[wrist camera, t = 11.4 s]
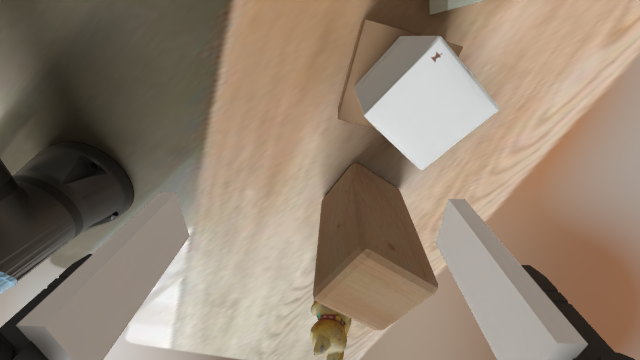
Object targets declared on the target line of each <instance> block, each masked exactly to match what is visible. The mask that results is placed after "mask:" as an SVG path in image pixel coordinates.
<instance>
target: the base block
mask: <svg viewBox="0 0 640 360" xmlns="http://www.w3.org/2000/svg"><path fill="white" fill-rule="evenodd" d="M400 36H423V35H419V34H416V33H412V32H409V31H405V30H401V29H398V28H394V27H391V26H387V25H384V24H380V23H377V22H373V21H369V20H366V19H365V20H364V21H362V22H361V25H360V29H359V32H358V36H357V40H356V44H355V47H354V51H353V55H352V58H351V62H350V66H349V69H348V73H347V77H346V80H345V84H344V88H343V91H342V95H341V99H340V103H339V106H338V119H340V120H344V121H348V122H351V123H355V124H359V125H363V126H367V127H371V128H375V127H374V126H373V125H372V124H371V123H370V122H369V121H368V120H367V119H366V118H365V117H364V114H363V111H362V108H361V105H360V103H359V100H358V97H357V95H356V92H355V89H354V86H355V85H356V84H357V83H358V82H359V81H360V79H361V78H362V77H363V76H364V75H365V74H366V73H367V72H368V71H369V70H370V69H371V67H372V66H373V65H374V64H375V63H376V62H377V61H378V60H379V59H380V58H381V57H382V56H383V55H384V53H385V52H386V51H387V50H388V49H389V48H390V47H391V46H392V45H393V44H394V43H395V41H396V40H397V39H398V38H399V37H400ZM446 43H447V44H448V46H449V47H450V48H451V49H452V50H453V52H454V53H455V54H456V56H457V57H458V56H459V54H460V52H461V50H462V48H463V47H462V46H458V45H455V44H451V43H448V42H446ZM375 129H376V128H375Z"/></svg>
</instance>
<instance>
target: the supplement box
mask: <svg viewBox="0 0 640 360" xmlns="http://www.w3.org/2000/svg"><path fill="white" fill-rule="evenodd" d="M354 89H355V92H356V95H357V97H358V100H359V103H360V105H361V108H362V111H363V114H364V117H365V118H366V119H367V120H368V121H369V122H370V123H371V124H372V125H373V126H374V127H375V128H376V129H377V130H378V131H379V132H380V133H381V134H382V135H383V136H385V137H386V138H387V139H388V140H389V141H390V142H391V143H392V144H393V145H394V146H395V147H396V148H397V149H398V150H399V151H400V152H401V153H403V154H404V155H405V156H406V157H407V158H408V159H409V160H410V161H411V162H412V163H413V164H414V165H415V166H417V167H418V168H419V169H420V170H424V169H425V168H426V167H427V166H429V165H430V164H431V163H432V162H434V161H435V160H436V159H437V158H439V157H440V156H441V155H442V154H444V153H445V152H446V151H447V150H449V149H450V148H451V147H452V146H454V145H455V144H456V143H457V142H459V141H460V140H461V139H462V138H464V137H465V136H466V135H468V134H469V133H470V132H471V131H473V130H474V129H475V128H477V127H478V126H479V125H481V124H482V123H483V122H485V121H486V120H487V119H488V118H490V117H491V116H492V115H494V114H495V113H496V112H498V110H499V107H498V105H497V104H496V103H495V102H494V100H493V99H492V98H491V97H490V96H489V95H488V93H487V92H486V91H485V90H484V88H483V87H482V86H481V85H480V84H479V82H478V81H477V80H476V79H475V77H474V76H473V75H472V73H471V72H470V71H469V69H468V68H466V67H465V65H464V64H463V63H462V62H461V60H460V59H459V58H458V57H457V56H456V54H455V53H454V52H453V50H452V49H451V48H450V47H449V46H448V44H447V43H446V42H445V41H444V39H443V38H442V37H441V36H400V37H399V38H398V39H397V40H396V41H395V43H394V44H393V45H392V46H391V47H390V48H389V49H388V50H387V51H386V52H385V53H384V55H383V56H382V57H381V58H380V59H379V60H378V61H377V62H376V63H375V64H374V65H373V66H372V67H371V69H370V70H369V71H368V72H367V73H366V74H365V75H364V76H363V77H362V78H361V79H360V81H359V82H358V83H357V84H356V85H355V86H354Z"/></svg>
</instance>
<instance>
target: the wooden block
mask: <svg viewBox="0 0 640 360" xmlns="http://www.w3.org/2000/svg"><path fill="white" fill-rule="evenodd" d="M437 289H438V283H437V281H436V278H435V276H434V273H433V271H432V268H431V266H430V263H429V261H428V259H427V256H426V254H425V251H424V249H423V246H422V244H421V241H420V239H419V237H418V234H417V232H416V229H415V227H414V224H413V222H412V219H411V217H410V215H409V212H408V210H407V207H406V205H405V202H404V200H403V197H402V195H401V193H400V191H399V189H397V188H396V187H394V186H393V185H391V184H389V183H388V182H386V181H385V180H383V179H382V178H380V177H379V176H377V175H376V174H374V173H373V172H371V171H369V170H368V169H366V168H365V167H363V166H362V165H360V164H358V163H353V164H352V165H351V166H350V167H349V168H348V169H347V170H346V172H345V173H344V174H343V175H342V177H341V178H340V179H339V180H338V182H337V183H336V184H335V185H334V186H333V188H332V189H331V190H330V191H329V193H328V194H327V195H326V196H325V198H324V199H323V200H322V205H321V215H320V226H319V237H318V247H317V258H316V268H315V279H314V289H313V296H314V299H315V300H316V301H317V302H318V303H320V304H322V305H324V306H326V307H328V308H330V309H333V310H335V311H337V312H339V313H341V314H343V315H345V316H347V317H349V318H351V319H353V320H356V321H358V322H360V323H362V324H364V325H366V326H368V327H370V328H372V329H374V330H383V329H385V328H387V327H388V326H389V325H391V324H392V323H394V322H395V321H396V320H398V319H399V318H400V317H402V316H403V315H405V314H406V313H408V312H409V311H410V310H412V309H413V308H415V307H416V306H418V305H419V304H420V303H422V302H423V301H424V300H426V299H427V298H429V297H430V296H432V295H433V294H434V293H435V292H436V291H437Z"/></svg>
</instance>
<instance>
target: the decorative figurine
mask: <svg viewBox="0 0 640 360" xmlns="http://www.w3.org/2000/svg"><path fill="white" fill-rule="evenodd" d="M311 312H312V314H313V315H316V316H317V317H318V320H319V321H318V322H316V323H315V324H314V326H313V327H312V328H311V334H310V337H311V340H312V344H313V346H314V355H315V356H316V357H320V356H322V355H323V356H327V360H343V355H344V349H345V347H346V343H347V336H346V335H347V333H348V330H349V328H350V325H351V318H349V317H347V316H345V315H343V314H341V313H339V312H337V311H335V310H333V309H330V308H328V307H326V306H324V305H322V304H320V303H318V302H317V301H316V300H315V299H314V304H313V305H312V307H311Z"/></svg>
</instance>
